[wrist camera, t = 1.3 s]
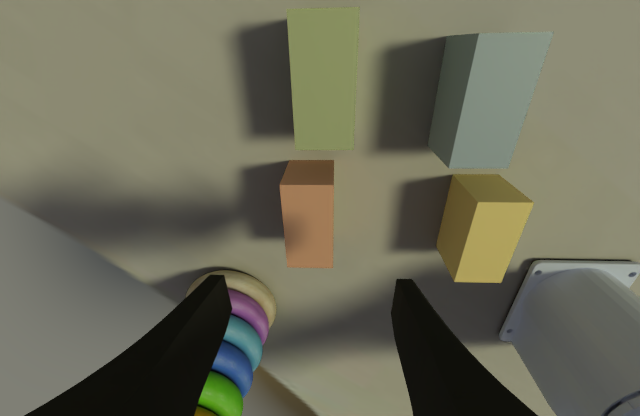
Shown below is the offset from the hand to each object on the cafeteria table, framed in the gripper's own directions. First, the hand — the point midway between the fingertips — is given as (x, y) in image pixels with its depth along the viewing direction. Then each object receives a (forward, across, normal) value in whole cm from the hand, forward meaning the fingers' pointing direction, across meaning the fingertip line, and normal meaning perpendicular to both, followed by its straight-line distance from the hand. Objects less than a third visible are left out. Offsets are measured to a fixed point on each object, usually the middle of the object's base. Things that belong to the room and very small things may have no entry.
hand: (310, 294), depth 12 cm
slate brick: (+10, -8, -6) cm, 14 cm away
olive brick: (+10, 0, -7) cm, 12 cm away
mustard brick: (+10, -10, +2) cm, 14 cm away
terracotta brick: (+10, 0, +1) cm, 10 cm away
